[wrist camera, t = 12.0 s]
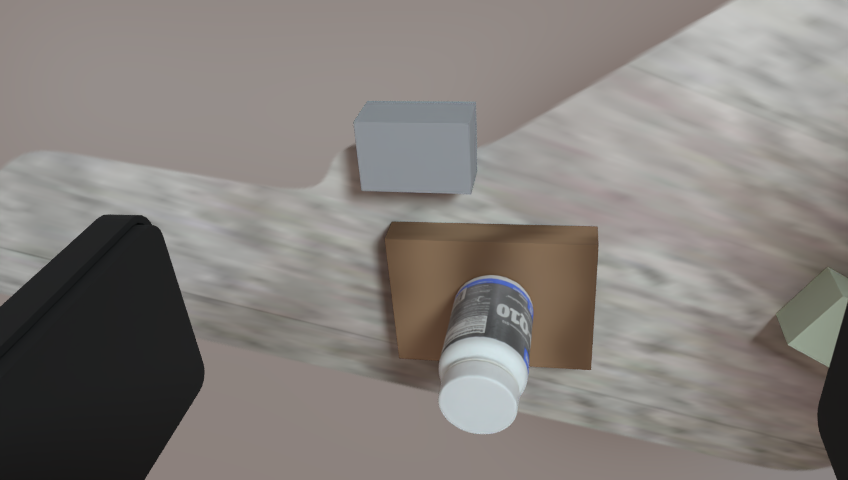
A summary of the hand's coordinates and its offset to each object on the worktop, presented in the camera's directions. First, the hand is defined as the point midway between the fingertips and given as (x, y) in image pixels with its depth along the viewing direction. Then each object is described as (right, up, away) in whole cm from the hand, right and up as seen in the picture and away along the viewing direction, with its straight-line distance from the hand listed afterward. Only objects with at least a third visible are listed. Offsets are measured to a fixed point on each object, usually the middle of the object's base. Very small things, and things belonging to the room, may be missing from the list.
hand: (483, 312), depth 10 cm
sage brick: (+23, -3, +31) cm, 39 cm away
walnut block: (+3, -2, +34) cm, 35 cm away
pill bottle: (+3, -3, +33) cm, 33 cm away
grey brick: (-1, +7, +30) cm, 31 cm away
